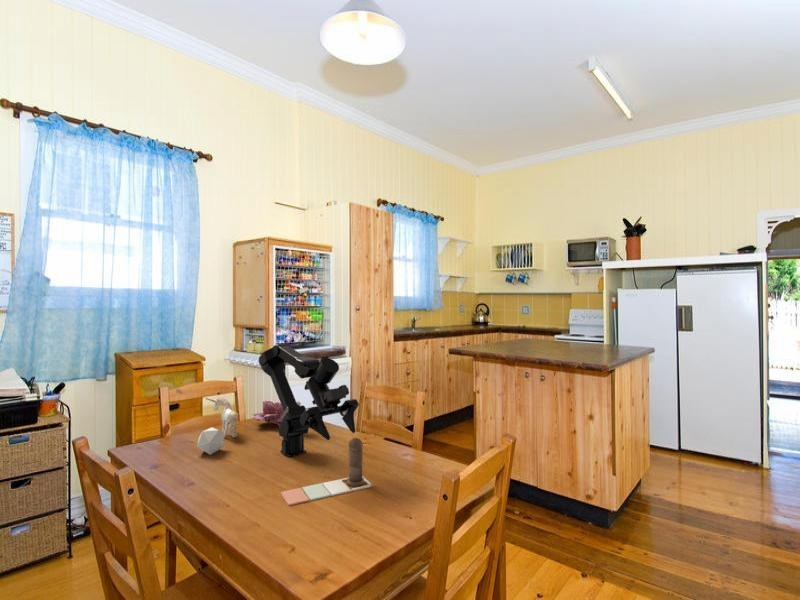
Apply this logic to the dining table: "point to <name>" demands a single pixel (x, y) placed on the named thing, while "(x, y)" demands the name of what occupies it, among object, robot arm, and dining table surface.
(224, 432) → the unicorn figurine
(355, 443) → the walnut pawn
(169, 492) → the dining table surface
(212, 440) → the die
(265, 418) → the flower
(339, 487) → the strip
